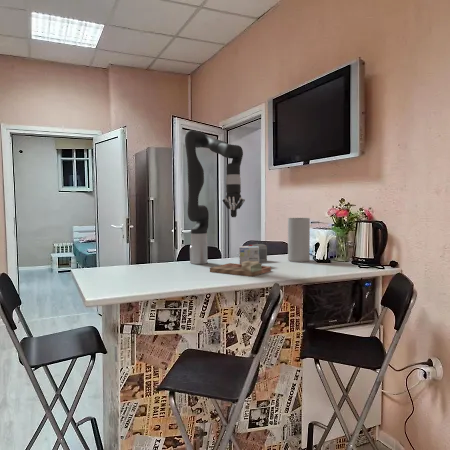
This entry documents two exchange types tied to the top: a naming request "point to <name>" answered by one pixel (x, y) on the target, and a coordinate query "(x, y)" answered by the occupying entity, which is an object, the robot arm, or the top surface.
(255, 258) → the light bulb box
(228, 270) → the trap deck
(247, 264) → the birch block
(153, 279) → the top surface
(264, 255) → the cassette player
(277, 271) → the top surface
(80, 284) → the top surface
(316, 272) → the top surface
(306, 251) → the cylinder vase
